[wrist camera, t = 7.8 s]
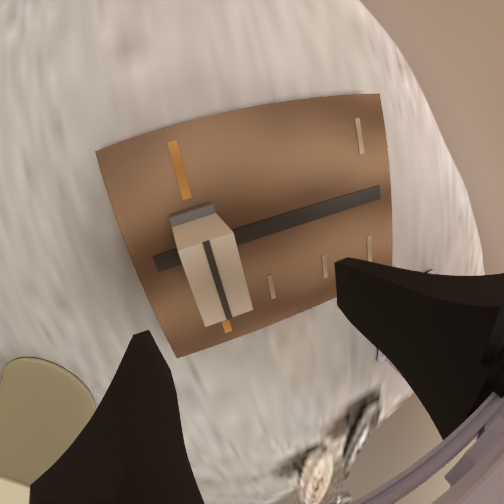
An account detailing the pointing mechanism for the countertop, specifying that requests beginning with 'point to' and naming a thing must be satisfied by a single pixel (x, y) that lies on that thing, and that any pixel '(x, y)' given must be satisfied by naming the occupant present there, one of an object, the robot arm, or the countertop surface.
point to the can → (37, 422)
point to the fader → (211, 263)
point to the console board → (256, 205)
